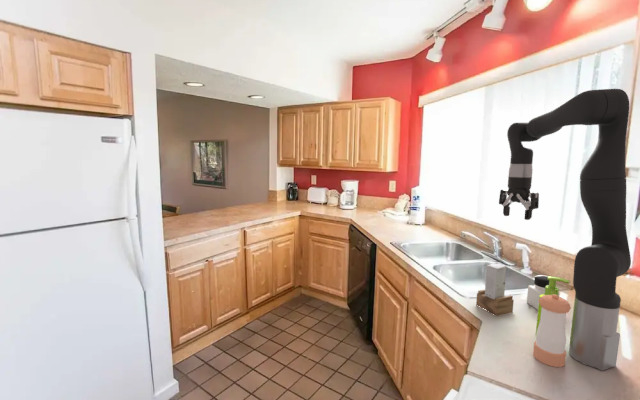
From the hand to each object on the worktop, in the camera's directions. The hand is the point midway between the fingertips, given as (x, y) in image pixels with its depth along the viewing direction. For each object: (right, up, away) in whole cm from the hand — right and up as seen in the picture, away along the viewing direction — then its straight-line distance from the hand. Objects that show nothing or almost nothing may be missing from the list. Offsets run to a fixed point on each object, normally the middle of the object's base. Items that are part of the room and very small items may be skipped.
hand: (516, 217), depth 117 cm
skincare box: (-10, -30, -3) cm, 32 cm away
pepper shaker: (-11, -39, -31) cm, 51 cm away
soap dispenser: (-3, -37, -21) cm, 43 cm away
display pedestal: (-10, -35, -2) cm, 36 cm away
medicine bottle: (+9, -35, -1) cm, 36 cm away
